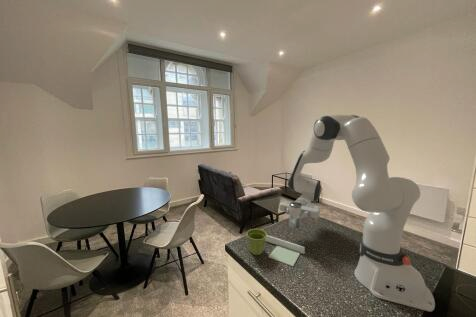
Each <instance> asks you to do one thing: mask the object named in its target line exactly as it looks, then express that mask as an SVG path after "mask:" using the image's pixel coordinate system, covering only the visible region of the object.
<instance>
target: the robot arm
mask: <svg viewBox="0 0 476 317" xmlns="http://www.w3.org/2000/svg"><path fill="white" fill-rule="evenodd" d="M378 132H379V131H377V130H376V127H375V126H374V125H373V123H372V122H371V121H370V119H368V118H367V117H363V116H362V117H361V116H359V115H354V114H350V115H349V114H333V115H323V116H321V117H318V118H317V119H316V120H315V122H314V124H313V132H312V135H311V137H310V141H309V146H308V147H307V149H306V150H303V151H302V152H301V153H300V155H299V157H298V159H297V160H296V163H295V166H294V168H293V170H292V172H291V174H290V177H289V179H288V181H287V186H288V188H289V190H290V191H292V192H297V193H300V194H301V195H299V197H298V198H297V199H296V200H294V202H297V203H300V204H302V206H301V214H300V217H301V219H304V218H306V217H307V218H312V219H319V218H320V203H319V202H317V201H318V200H319V198H320V196H321V194H322V185H321V183H320V181H318V180H314V179H312V178H309V177H305V176H304V175H303V176H302V175H301V173H302V170H303V168H304V165H307V164H319V163H323V162H325V161H327V160H328V159H329V158H330V157H331V154H332V151H333V147H334V144H335V141H345V144H346V145H347V149H348V152H349V153H350V156H351V159H352V161H353V164H354V167H355V168H354V169H355V174H356V180H355V185H354V187H353V189H352V192H351V197H352V201H353V203H354V205H355V207H357V209H359V210H361V211H363V212H365V213H370V214H369V215H368V216H367V217H366V218H365V220H364V222H363V232H362V233H363V234H362V239H361V240H360V246H359V255H360V256H359V260H358V262H357V266H356V268H355V270H354V277H355V278H356V280H358V282H359V283H360V284H361V285H362V286H364V287H365V288H366V289H367V290H369V292H370V293H371V294H372V295H373V296H374V297H376V298H378V299H382V300H385V301H387V302H393V303H396V304H400V305H404V306H407V307H410V308H415V309H417V310H418V309H419V310H422V311H426V312H430V313H431V312H433V311H434V310H435V307H436V302H435V297H434V295H433V294H432V291H431V290H430V288H429V287H427V285H426V283H425V280H424V278H423V276H422V274H421V272H420V271H418V270H417V269H416V268H415V267H414V266H413V265H411V259H410V258H409V257H408V255H407V254H408V253H406V251H405V250H404V248H401V244H402V238H403V231H404V228H405V225H406V224H407V221H408V218H409V216H410V213H411V211H412V209H413V207H414V205H415V203H416V202H418V200H419V198H420V197H421V188H420V187H419V185H417V183H416V182H415V181H413V180H412V179H409V178H404V177H400V176H392V177H390V176H389V172H388V164H389V162H390V155H389V153H388V151H387V149H386V147H385V145H384V142H383V140H382V138H381V136H380V135H379V133H378ZM291 202H292V201H287V200H284V201H282V202H280V203H279V204H278V205H279V206H278V207H279V208H278V209H279V211H280V212H285V214H286V215H288V216H289V203H291Z"/></svg>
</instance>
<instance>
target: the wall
mask: <svg viewBox="0 0 476 317" xmlns="http://www.w3.org/2000/svg"><path fill="white" fill-rule="evenodd" d="M265 242H268V243H270V244H273V245H276V246H280V247H283V248H286V249H289V250H292V251H295V252H298V253H300V254H302V255H305V252H306V250H305V246H303V245H300V244H296V243H293V242H290V241H287V240H284V239H280V238H278V237H275V236H271V235H268V234H267V237H266V239H265Z"/></svg>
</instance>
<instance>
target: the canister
mask: <svg viewBox="0 0 476 317" xmlns="http://www.w3.org/2000/svg"><path fill="white" fill-rule="evenodd" d="M290 202H291V203H289V215H288V226H289V227H290V228H291V229H300V228H301V227H302V226H301V225H302V218H301V217H300V214H301V206H302V204H300V203H297V202H295V201H290Z"/></svg>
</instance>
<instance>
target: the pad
mask: <svg viewBox="0 0 476 317" xmlns="http://www.w3.org/2000/svg"><path fill="white" fill-rule="evenodd" d="M300 254H301V253H299V252H296V251H294V250H291V249H288V248H285V247H282V246H279V245H276V246H275V248H274V249H273V250H272V251H271V253H270V254H269V255H268V258H269V259H271V260H274V261H277V262H280V263H282V264H285V265H288V266H289V267H294V265H295V264H296V262H297V260H298V258H299V256H300Z"/></svg>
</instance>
